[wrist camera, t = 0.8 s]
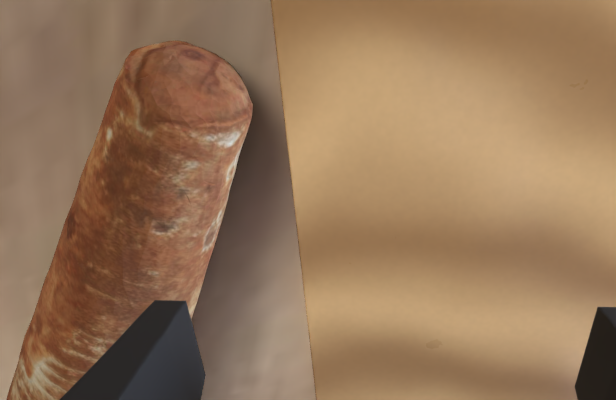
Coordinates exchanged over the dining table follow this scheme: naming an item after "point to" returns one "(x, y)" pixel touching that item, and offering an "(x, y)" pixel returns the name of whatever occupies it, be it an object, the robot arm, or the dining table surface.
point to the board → (451, 191)
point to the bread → (138, 211)
